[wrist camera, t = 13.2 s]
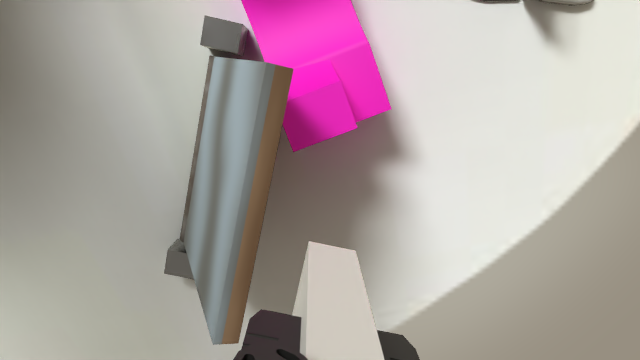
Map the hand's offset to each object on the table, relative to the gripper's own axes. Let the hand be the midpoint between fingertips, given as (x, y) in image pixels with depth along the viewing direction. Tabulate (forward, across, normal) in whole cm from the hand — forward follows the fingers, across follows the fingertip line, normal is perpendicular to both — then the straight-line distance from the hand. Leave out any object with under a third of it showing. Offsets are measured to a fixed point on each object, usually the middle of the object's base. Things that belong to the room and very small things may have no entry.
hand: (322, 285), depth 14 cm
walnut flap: (+17, -8, 0) cm, 19 cm away
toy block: (+19, -3, +10) cm, 22 cm away
